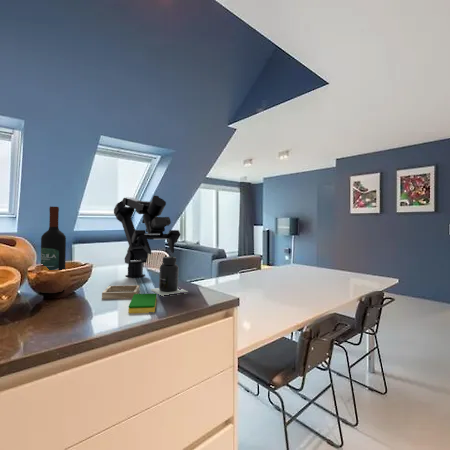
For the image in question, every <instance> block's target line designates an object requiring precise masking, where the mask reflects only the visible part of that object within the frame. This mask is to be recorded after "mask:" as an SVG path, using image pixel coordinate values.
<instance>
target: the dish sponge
mask: <svg viewBox="0 0 450 450" xmlns="http://www.w3.org/2000/svg"><path fill="white" fill-rule="evenodd" d="M157 295H158V294H156V293H138V294H134V296H133V298H131V300H130V303H129V305H128V308H127V309H128V314H146V313H148V314H149V312H153V313H156V312H155V311H156V306H157V305H156V304H157V300H156V299H157V298H158V297H157Z"/></svg>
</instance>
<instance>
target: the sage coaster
mask: <svg viewBox="0 0 450 450" xmlns="http://www.w3.org/2000/svg"><path fill="white" fill-rule="evenodd" d="M150 290H151V292H153V293H154V292H155V293H154V294H156V293H157V295H158V294H159V295H158V296H160V295H161V296H163V297H165V296H164V295H169V294H174V293H180V292H188V293H189V291H188V290H186V289H183V288H182V289H181V290H179V289H177V290H176V291H173V292H163V291H160V290H159V287H156V288H155V287H154V288H150ZM161 296H160V297H161Z"/></svg>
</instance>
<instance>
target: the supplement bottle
mask: <svg viewBox="0 0 450 450" xmlns="http://www.w3.org/2000/svg"><path fill="white" fill-rule="evenodd" d="M176 263H177V257H176V256H163V257H162V264H160V266H159V278H158V279H159V282H158V288H159V290H160V291H163V292H173V291H176V290H177V289H178V287H179V267H180V266H179V265H178V264H176Z"/></svg>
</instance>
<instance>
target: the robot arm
mask: <svg viewBox="0 0 450 450" xmlns="http://www.w3.org/2000/svg"><path fill="white" fill-rule="evenodd" d="M166 205H167V201H165V200H164V199H163V198H162V197H159V195H153V197H152V200H151V201H146V200H140V199H137V198H135V197H129V196H125V197H123V198H122V200H121V201H119V202H117V203H116V205H115V207H114V209H113V214H114V216H115V218H116V220H117V221H118V222H120V224H122V227H123V231H124V234H125V236H126V237H125V238H126V240H127V243H128V248H127V249H126V251H127V252H126V255H125V257H124V264H126V265H127V274H126V275H125V277H128V278H141V277H145V276H146V274H144V271H143V270H144V264H146V263H147V261H148V257H149V255H151V254H152V249H151V246H150V243H149V241H148V240H153V241H154V240H166V242H167V246H168V248H169V250H170V252H171V254H174V253H175V245H176V244H177V242H178V241H179V239H180V236H181V232H180V230H179V229H170V230H169V231H168V233H164V232H165V231H166V229H165V227H168V226H170V225H171V223H172V221H171V219H170V216H162V213H163V210H164V208H165V207H166ZM134 212H136V214H138V215H142V222H141V223H142V224H144V225H145V230H144V229H136V228H135V225H134V223H133V220H132V218H133V214H134Z"/></svg>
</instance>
